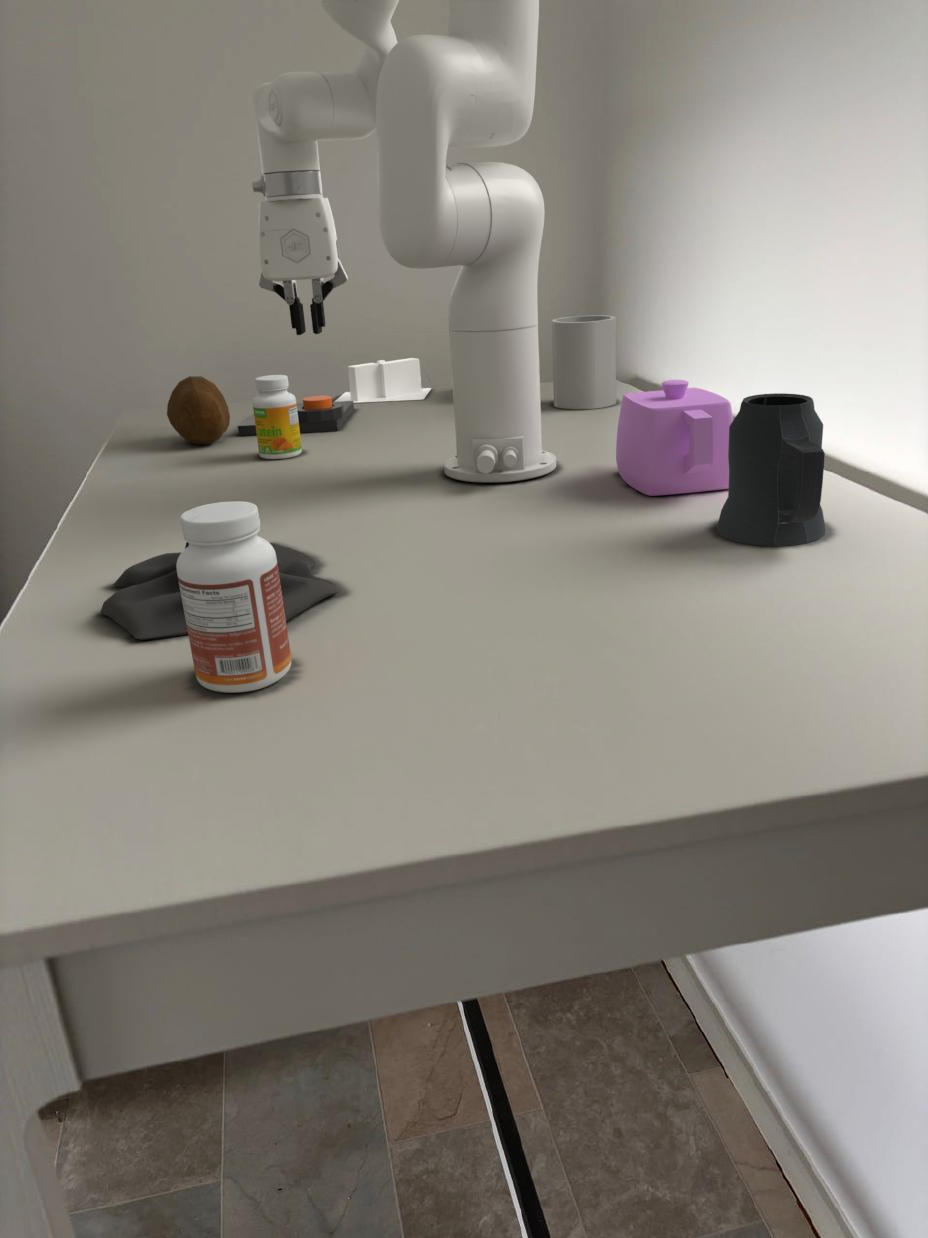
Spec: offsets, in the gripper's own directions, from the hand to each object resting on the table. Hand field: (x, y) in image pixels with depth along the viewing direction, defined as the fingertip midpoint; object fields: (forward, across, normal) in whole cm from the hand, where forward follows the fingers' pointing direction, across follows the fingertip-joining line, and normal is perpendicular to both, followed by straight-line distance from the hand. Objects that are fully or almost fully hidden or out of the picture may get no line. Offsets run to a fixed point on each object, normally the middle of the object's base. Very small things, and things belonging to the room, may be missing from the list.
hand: (309, 332), depth 140 cm
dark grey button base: (+13, -4, +5) cm, 15 cm away
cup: (+13, +38, +8) cm, 41 cm away
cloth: (+13, +4, -67) cm, 68 cm away
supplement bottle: (+13, -2, -17) cm, 22 cm away
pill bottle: (+13, +10, -84) cm, 86 cm away
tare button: (+11, 0, 0) cm, 11 cm away
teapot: (+13, +44, -39) cm, 60 cm away
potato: (+13, -16, -5) cm, 21 cm away
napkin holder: (+13, +6, +25) cm, 29 cm away
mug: (+13, +50, -59) cm, 78 cm away
